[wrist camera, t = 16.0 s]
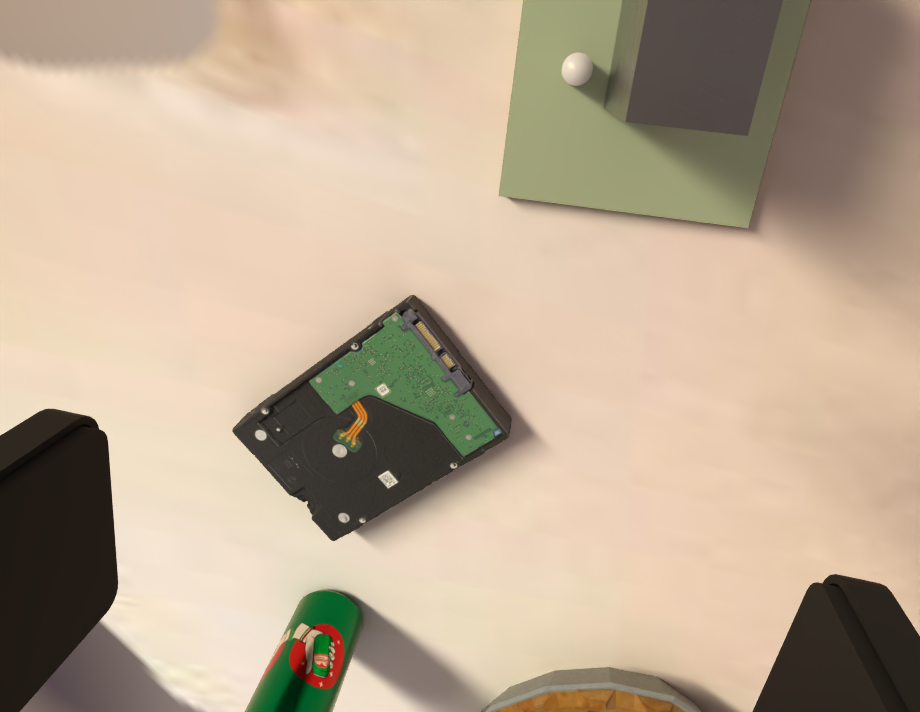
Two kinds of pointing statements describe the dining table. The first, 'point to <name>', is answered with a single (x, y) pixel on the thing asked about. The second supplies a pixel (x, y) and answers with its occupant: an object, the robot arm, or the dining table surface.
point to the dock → (627, 125)
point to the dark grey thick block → (691, 62)
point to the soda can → (311, 656)
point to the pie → (592, 693)
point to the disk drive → (375, 421)
